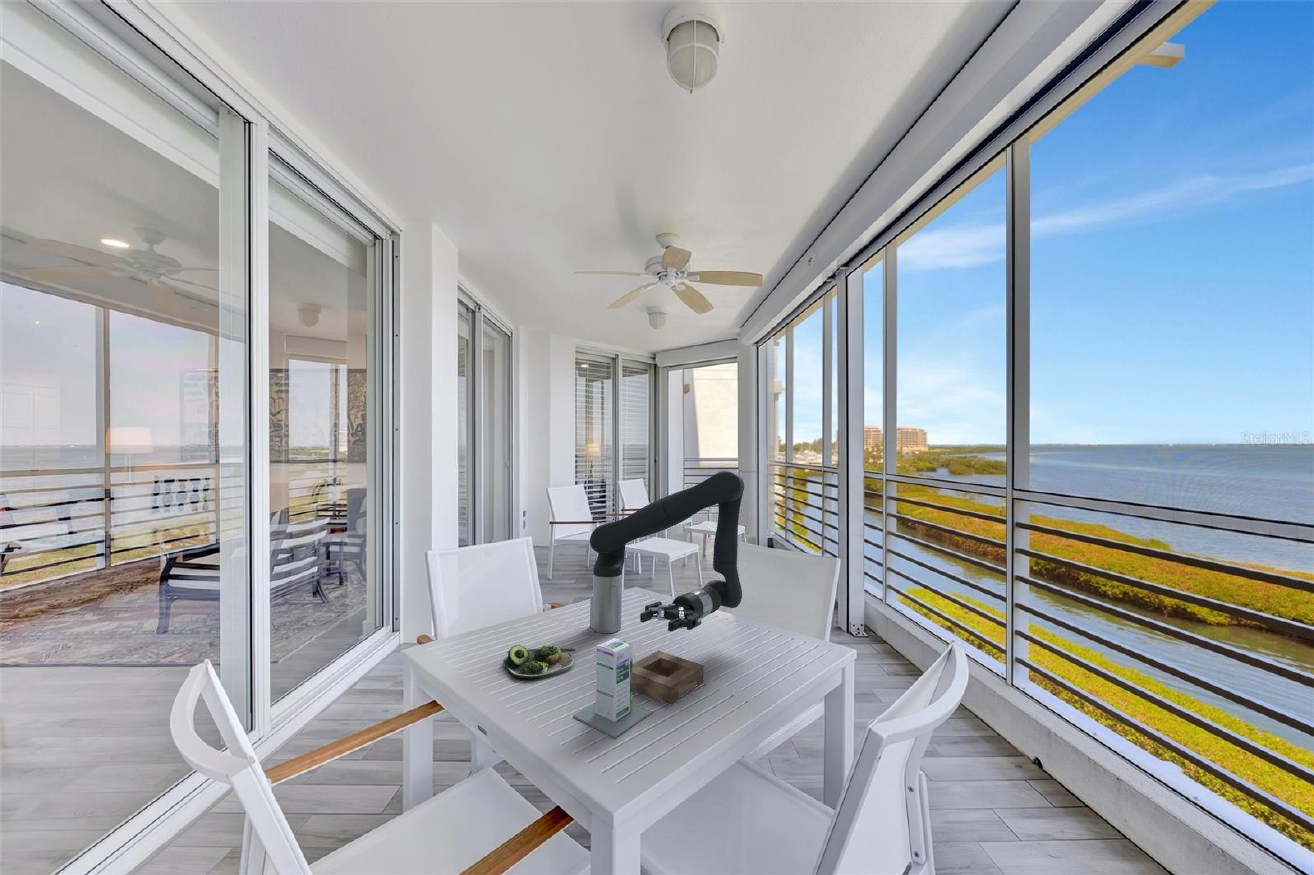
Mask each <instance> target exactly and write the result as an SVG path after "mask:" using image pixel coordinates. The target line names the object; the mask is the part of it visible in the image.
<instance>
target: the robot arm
mask: <svg viewBox="0 0 1314 875" xmlns="http://www.w3.org/2000/svg"><path fill="white" fill-rule="evenodd" d="M744 492H745V481H744V480H743V478H742V477H741V475H739V474H738V473H737V472H735V471H732V470H728V469H727V470H721V471H718V472H716V473H715V474H713V475H711V476H710V477H708V478H707V479H705V480H702V481H701V482H700V483H698V484H696V485H694V486H691V487H689V488H686V489H683V490H680V491H677V492H674V493H671V494H669V495H666V496H664V497H661V498H658V499H657V500H655V501H653V502H651V503H649V504H647V505H645V506H643V507H642V508H640V509H637V510H636V511H635V512H633V513H631V514H629V515H627V516H626V517H624V518H621V519H618V520H615V521H612V522H611V521H609V522H605V523H603V524H601V525H599V526H596V528H594V530H593V531H592V533H591V534H590V538H589V545H590V547H591V549H592V550H593V551H594V552H595V553H597V557H596V561H595V563H594V565H593V569H592V570H593V571H592V572H593V575H592V584H593V585H592V587H593V588H592V596H590V602H589V604H590V605H589V607H590V608H589V610H590V611H589V612H590V613H589V628H591V629H592V631H594V632H597V633H601V634H611V633H612V634H613V633H616V632H619V631H620V630H621V629H622V607H623V606H622V605H623V602H622V601H623V600H622V599H623V568H624V565H625V557H626V544H629V543H631V542H632V541H635V540H637V539H640V538H644V537H648V536H651V535H653V534H657V533H659V532H662V531H665V530H668V529H670V528H673V527H674V526H677V525H679V524H681V523H683V522H684V521H686V520H688V519H689V518H691V517H693V516H694V515H695V514H697V513H698V512H700V511H702V510H705V509H706V508H710V507H712V506H716V505H718V506H717V508H718V511H717V512H718V518H717V519H718V520H717V523H716V524H717V525H716V531H715V535H714V541H713V555H712V556H713V557H712V559H713V560H712V569H713V570H714V571H715V572H716V573H718V574H721V575H722V576H723V577H724V580H725V581H724V580H721V579H720V580H719V579H713V580H712V579H711V580H709V581H708V582H707V583H706V584H705V585H704V586H703V587H702V588H700V589H696V590H692V591H689V592H686V593H684V594H681V595H678V596H676V597H675V598H674V599H673V601H672V602H671V603H668V604H666V605H665V604H663V602H662V601H657V602H656V601H655V602H653V603H650V604H647V605H644V611H643V612H640V616H639V617H640V618H639V621H640V623H646V622H648V621H651V620H655V619H656V620H658V621H668V623H667V631H668V632H670V633H671V632H674V631H677V630H679V629H681V630H682V629H683V630H684V628H686V630H687V631H692V630H694V629H695V628H697V627H698V626H701V624H702V620H703V619H704V618H705V617H708V616H709V615H711V614H714V613H715V612H717V611H718V610H719V609H720V608H721V607H726V608H730V609H735V608H737V607H738V606H740V603H741V601H742V598H743V590H742V585H741V581H740V577H739V571H738V550H739V549H738V546H739V545H738V544H739V543H738V538H739V535H738V533H739V516H740V509H741V505H742V504H741V503H742V500H743V495H744V494H743V493H744ZM662 612H663V616H662Z"/></svg>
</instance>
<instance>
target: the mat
mask: <svg viewBox="0 0 1314 875" xmlns="http://www.w3.org/2000/svg"><path fill="white" fill-rule="evenodd" d="M595 709H596V702H594V703H592V704H590V705H588V706H587V707H586V708H583V709H582V710H580V711H578V712H576V713H575V714H574V715H573V716H572V717H573V718H574V719H576V720H578V721H580V722H582V723H584V724H586V725H587V726H589V727H591V728H593V729H594V730H595V729H596V730H597V731H599V732H601V733H604V735H605V734H606V735H607V736H609V737H611V738H614V739H615V740H616V739H617V738H619V737H620V736H621V735H622V734H624V733H626V732H628V731H629V730H630V729H632V728H633V727H635V726H636V725H638V724H639V723H640V722H642V721H643V720H645V719H646V718H648V717H650V714H651V713H652V714H653V713H654V710H651V709H650V708H648V707H647V708H646V707H644V706H642V705H640V704H637V703H635V702H633V701H632V711H631V712H629V713H628V714H626V715H625V716H623V717H621V718H620V719H618V720H617V721H616V722H613V721H611V720H608V719H606V718H604V717H602V716H600V715H598V714H596V711H595ZM652 714H651V715H652ZM647 716H648V717H647ZM645 717H646V718H645ZM644 718H645V719H644ZM638 722H639V723H638Z"/></svg>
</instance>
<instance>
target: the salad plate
mask: <svg viewBox="0 0 1314 875" xmlns="http://www.w3.org/2000/svg"><path fill="white" fill-rule="evenodd" d="M576 650H577V649H576V647H575V648H574V647H567V648H565V647H564V648H563V647H562V648H561V646H560V645H559V646H554V645H542V646H538V647H535V648H531V649H530V648H529V649H527V648H526V647H525V646H523V645H521V644H516V645H512V646H511V648H510V649H509V650H508V651H506V653H508V654H507V655H505V657H504V658H503V661H502V664H503V666H504V669H505V671H506V672H507V673H508V674H509V676H510V677H511V678H513V679H515V680H518V681H522V680H524V682H525V681H526V682H529V681H536V680H542V679H545V678H548V677H551V676H555V675H558V674H560V673H563V672H566V671H568V669H571V667H572V666H573V665H575V660H574V658H573V657H571V656H570V655H569V654H571V653H574V652H576ZM556 664H558V665H561V667H560V668H558V669H557V670H554V671H551V672H550V671H549V672H548V669H549V667H551V666H555V665H556Z"/></svg>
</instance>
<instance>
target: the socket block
mask: <svg viewBox="0 0 1314 875" xmlns="http://www.w3.org/2000/svg"><path fill="white" fill-rule="evenodd" d="M704 668H705V666H704V665H703V664H700V663H697V662H694V661H691V660H689V659H685V658H682V657H679V656H676V655H675V654H674V655H673V654H670V653H667V652H664V651H662V650H657V651H655V652H652V653H651V654H649V655H647V656H645V657H643V658H641V659H639V660H637V661H636V662H634V663H633V662H632V691H635V692H637V693H640V694H641V695H643V696H648V697H650V698H653V699H655V700H657V699H658V700H657V701H659V702H661V701H662V703H664V704H666V703H667V704H666V705H669V704H671V705H673V703H675V702H677V701H678V700H680V699H682V697H681V696H682V695H684V694H685V695H687V694H688V693H689V692H688V691H690V690H691V689H693V688H694V687H695V686H696V685H698V686H700V685H701V684H702V683H701V682H702V681H703V682H704V673H705V672H704ZM668 676H669V677H668ZM700 683H701V684H700ZM699 684H700V685H699ZM695 688H696V687H695ZM695 688H694V689H695ZM694 689H693V690H694ZM691 691H692V690H691ZM691 691H690V692H691ZM687 692H688V693H687ZM686 693H687V694H686ZM685 695H684V696H685ZM679 698H680V699H679ZM677 699H678V700H677ZM676 700H677V701H676Z"/></svg>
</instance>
